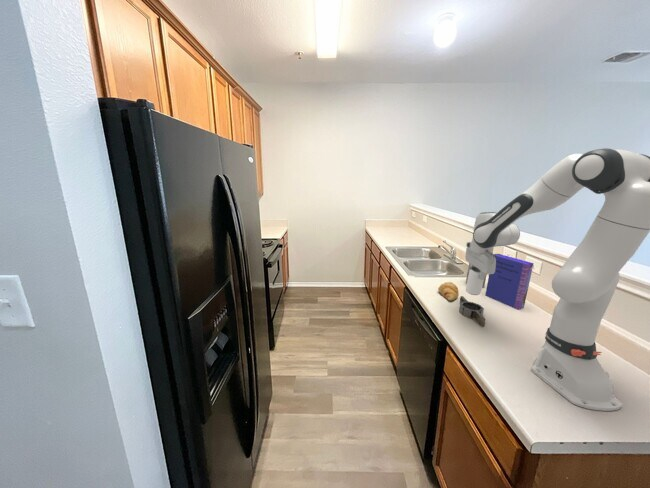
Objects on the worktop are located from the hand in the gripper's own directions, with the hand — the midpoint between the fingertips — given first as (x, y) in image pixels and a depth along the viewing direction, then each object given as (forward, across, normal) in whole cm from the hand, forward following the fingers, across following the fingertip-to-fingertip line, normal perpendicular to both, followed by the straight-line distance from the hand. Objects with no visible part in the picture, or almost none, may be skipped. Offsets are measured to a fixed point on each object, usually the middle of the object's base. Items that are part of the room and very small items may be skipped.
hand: (477, 276), depth 125 cm
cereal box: (+19, +15, -24) cm, 34 cm away
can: (+9, +2, 0) cm, 9 cm away
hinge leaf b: (+19, +3, 0) cm, 19 cm away
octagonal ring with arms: (+19, -3, 0) cm, 19 cm away
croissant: (+20, +22, +3) cm, 29 cm away
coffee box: (+19, +36, -19) cm, 45 cm away
